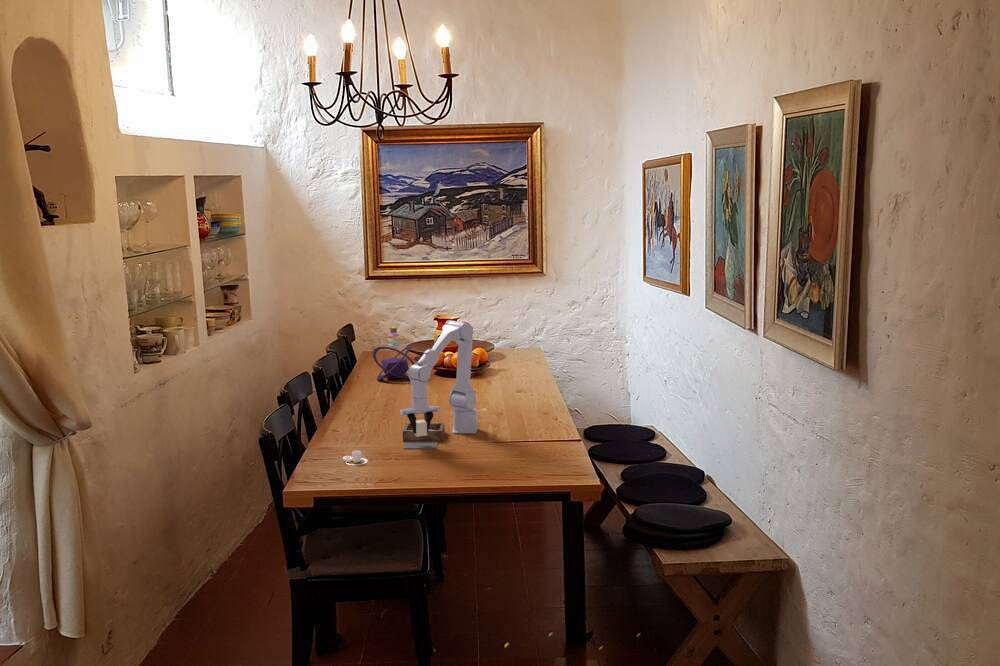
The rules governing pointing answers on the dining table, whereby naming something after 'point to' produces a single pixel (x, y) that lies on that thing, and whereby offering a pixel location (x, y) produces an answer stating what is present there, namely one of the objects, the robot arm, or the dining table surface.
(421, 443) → the charcoal mat
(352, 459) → the teacup and saucer
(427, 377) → the robot arm
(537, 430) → the dining table surface
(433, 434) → the walnut box
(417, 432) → the cream block
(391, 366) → the decorative bottle
